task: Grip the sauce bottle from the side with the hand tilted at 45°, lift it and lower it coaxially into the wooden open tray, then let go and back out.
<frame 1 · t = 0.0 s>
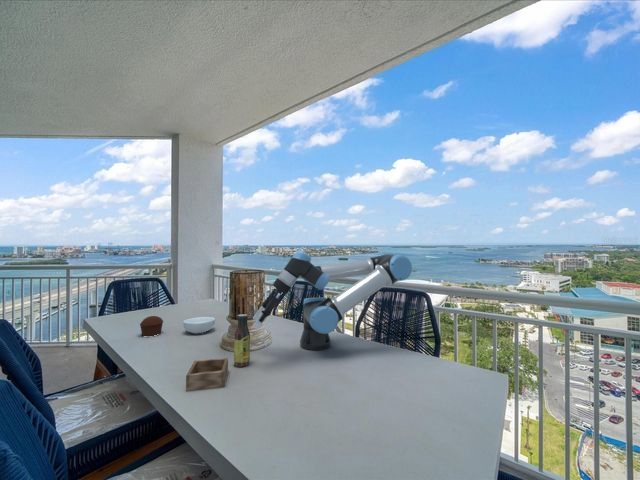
hand: (255, 324, 119), 15 cm above the table, tool tilted 35°, fingers open, 13 cm apart
wooden open tray: (208, 380, 100), on the table
muffin: (151, 335, 157), on the table
sauce bottle: (242, 364, 115), on the table
cereal bowl: (199, 332, 161), on the table
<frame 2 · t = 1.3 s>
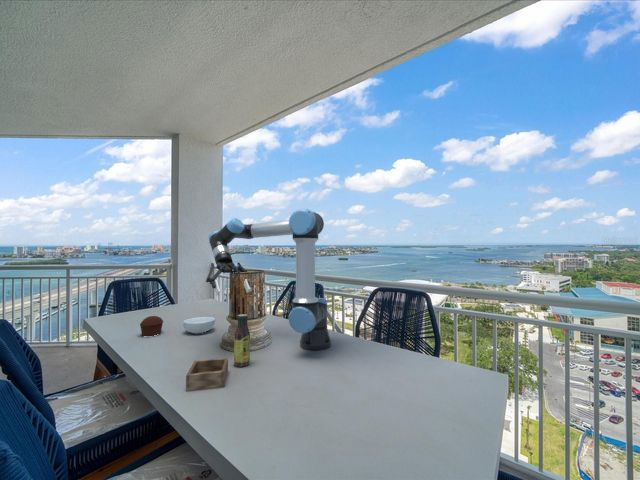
hand: (233, 292, 124), 28 cm above the table, tool tilted 45°, fingers open, 13 cm apart
nothing on the table moved.
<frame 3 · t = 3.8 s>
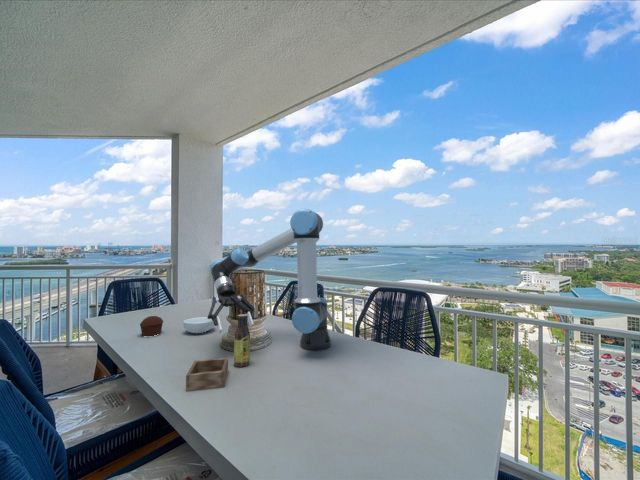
hand: (236, 328, 118), 14 cm above the table, tool tilted 45°, fingers open, 13 cm apart
nothing on the table moved.
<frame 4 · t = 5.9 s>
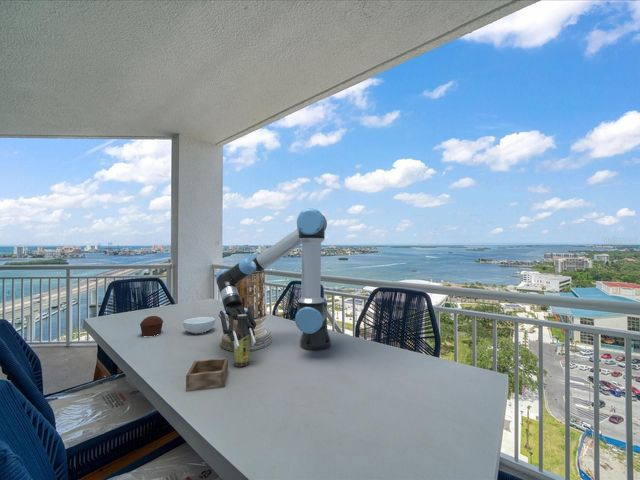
hand: (245, 345, 112), 8 cm above the table, tool tilted 45°, fingers closed on sauce bottle, 6 cm apart
sauce bottle: (242, 364, 115), on the table, touching gripper
everything else where it was.
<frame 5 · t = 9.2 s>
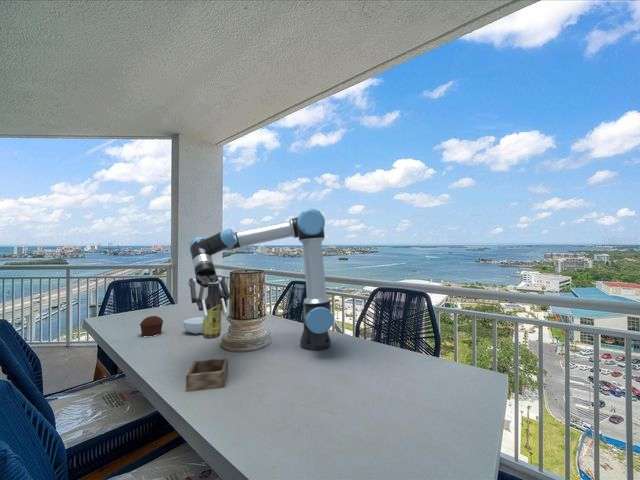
hand: (215, 315, 101), 23 cm above the table, tool tilted 45°, fingers closed on sauce bottle, 6 cm apart
sauce bottle: (212, 337, 104), point 14 cm above the table, touching gripper
everything else where it was.
when the fingers open (11 cm above the table, at t = 12.6 s): sauce bottle drops 1 cm, resting on wooden open tray.
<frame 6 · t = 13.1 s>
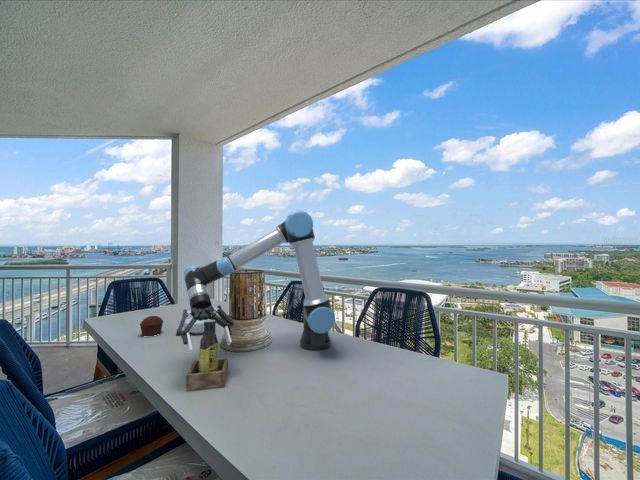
hand: (210, 347, 99), 12 cm above the table, tool tilted 45°, fingers open, 13 cm apart
sauce bottle: (208, 377, 101), point 1 cm above the table, touching wooden open tray
everything else where it was.
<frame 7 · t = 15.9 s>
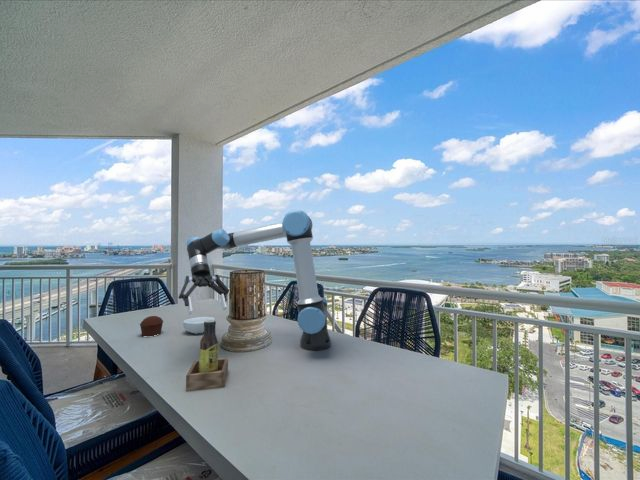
hand: (208, 310, 115), 22 cm above the table, tool tilted 35°, fingers open, 13 cm apart
nothing on the table moved.
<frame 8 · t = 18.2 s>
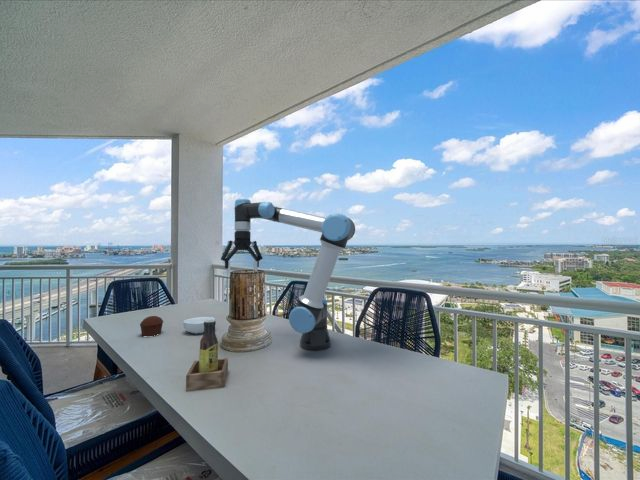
hand: (242, 274, 136), 35 cm above the table, tool pointing down, fingers open, 13 cm apart
nothing on the table moved.
at the end: sauce bottle 0.1 cm off-centre on the wooden open tray, point 0.8 cm above the wooden open tray's base; sauce bottle tilted 0°; the gripper is holding nothing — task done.
